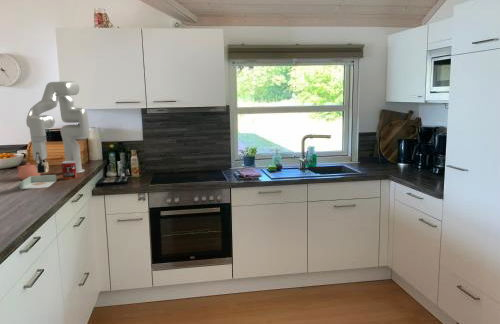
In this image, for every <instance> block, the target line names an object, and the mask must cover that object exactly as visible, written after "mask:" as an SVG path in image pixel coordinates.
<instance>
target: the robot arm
mask: <svg viewBox="0 0 500 324" xmlns="http://www.w3.org/2000/svg"><path fill="white" fill-rule="evenodd" d="M79 92H80V85H79V83H78V82H77V81H76V80H70V81H67V80H65V81H50V82H48V83H47V84H46V85H45V89H44V92H43V94H42V98H41V100H40V101H38V102H37V103H35V104H34V105H33V106H32V107H31V108H30V109H29V110H28V113H27V116H26V122H25V123H26V126H27V127H28V128H29V134H30V143H31V145H32V159H33V161H34V162H36V164H37V168H38V173H40V174H43V173H44V172H45V171H44V165H43V162H48V161H47V158H48V151H47V146H46V145H47V144H46V143H47V142H48V141H47V133H46V129H51V128H53V127H54V126H55V123H56V121H55V118H54V117H53V116H52V115H48V114H45V115H44V114H43V113H46V112H49V111H51V110H53V109H55V108H56V107H57V106H59V109H60V110H59V112H60V118H61V121H62V122H63V123H66V125H63V126H62V127H61V128H60V136H61V139H62V143H63V150H64V161H75V164H76V173H77V174H81V173H84V172H85V169H84V168H83V167H82V158H81V157H82V155H81V148H80V143H79V142H78V141H77V140H86V139H88V138H89V137H90V123H89V118H88V117H89V116H88V113H87V110H86V109H85V108H84V107H75V104H74V99H73V97H72V96H77V95H78V94H79ZM58 104H59V105H58ZM42 114H43V115H42ZM67 123H69V124H67ZM73 123H79V124H73ZM44 174H45V173H44Z"/></svg>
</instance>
